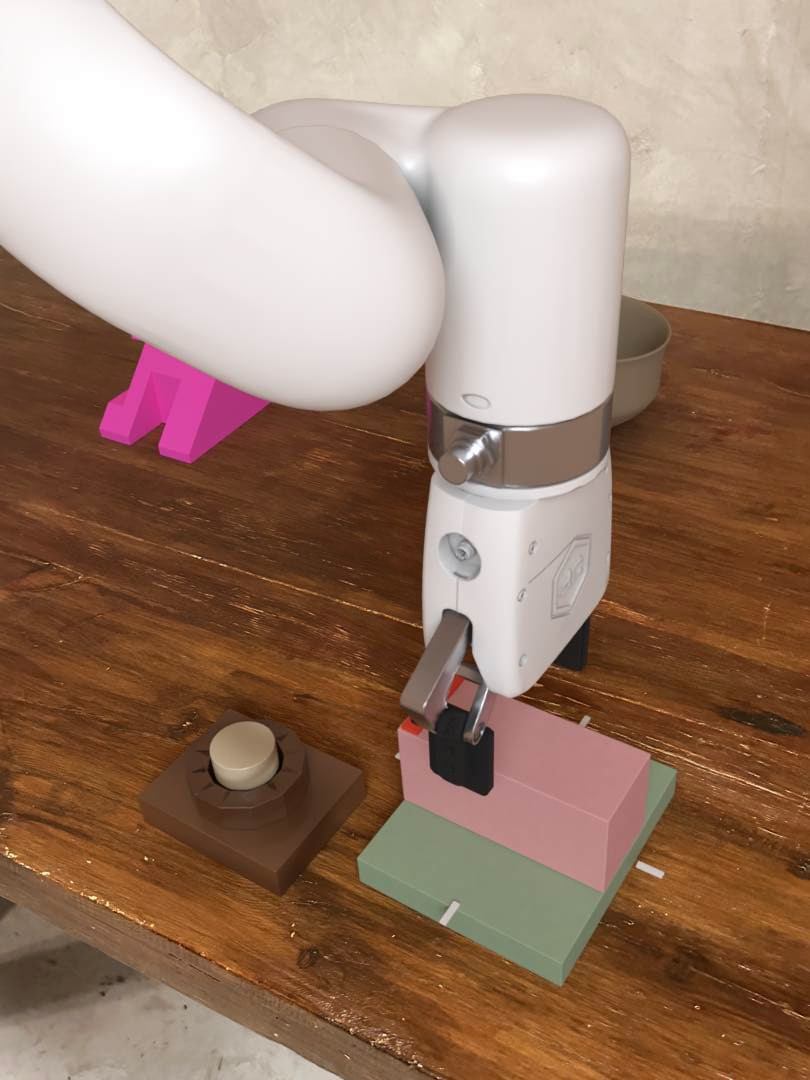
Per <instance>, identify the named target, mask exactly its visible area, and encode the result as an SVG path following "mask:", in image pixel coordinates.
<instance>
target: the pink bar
mask: <svg viewBox="0 0 810 1080" xmlns="http://www.w3.org/2000/svg"><path fill="white" fill-rule="evenodd" d="M478 686H479V685H478V684H476V683H474V682H471V681H469V680H466V679H464V678H461V677H459V676H457V675H455V677H454V680H453V683H452V686H451V689H450V692H449V695H448V698H447V701H446V702H447V703H450V704H452V705H455V706H457V707H459V708H462V709H464V710H466V711H469V712H470V709H471V706H472V703H473V700H474V697H475V694H476V691H477V688H478ZM487 727H489V728H491V729H492V730H493V731H494V787H493V788H492V790H491V791H490V792H489V794H488V795H487V796H482V795H479V794H477V793H475V792H473V791H471V790H469V789H467V788H464V787H462V786H456V785H454V784H451V783H449V782H447V781H445V780H444V779H443V778H441V777H440V776H439V775H437V774H435V773H434V772H433V771H432V770H431V768H430V761H429V736H428V730H426V729H424V728H421V727H419V726H417V725H415V724H413V723H411V718H410V717H409V716H407V717H406V719H405V720H404V721H403V722H402V723H401V724H400V725H399V727H398V728H397V740H398V741H397V742H398V751H399V753H400V760H399V762H400V763H399V764H400V774H401V783H402V784H401V785H402V792H403V793H402V794H403V799H405V800H407V801H409V802H411V803H413V804H415V805H418V806H420V807H422V808H424V809H426V810H428V811H430V812H432V813H435V814H437V815H439V816H441V817H443V818H445V819H447V820H449V821H451V822H454V823H456V824H458V825H460V826H462V827H464V828H466V829H468V830H471V831H473V832H475V833H477V834H479V835H481V836H483V837H485V838H488V839H490V840H492V841H494V842H496V843H498V844H500V845H502V846H504V847H507V848H509V849H511V850H513V851H515V852H517V853H519V854H521V855H524V856H526V857H528V858H530V859H532V860H534V861H536V862H538V863H541V864H543V865H545V866H547V867H549V868H551V869H553V870H555V871H557V872H560V873H562V874H564V875H566V876H568V877H570V878H572V879H574V880H577V881H579V882H581V883H583V884H585V885H587V886H589V887H591V888H594V889H596V890H598V891H600V892H602V893H604V892H605V890H606V888H607V887H608V885H609V883H610V881H611V880H612V878H613V876H614V875H615V873H616V871H617V870H618V868H619V866H620V865H621V863H622V861H623V859H624V858H625V856H626V854H627V853H628V851H629V849H630V848H631V846H632V844H633V843H634V841H635V839H636V837H637V836H638V834H639V832H640V831H641V829H642V827H643V826H644V819H645V809H646V799H647V789H648V779H649V768H650V759H651V757H652V753H650V752H648V751H645V750H643V749H640V748H637V747H635V746H633V745H630V744H629V743H626V742H624V741H620V740H618V739H615V738H613V737H610V736H608V735H605V734H603V733H600V732H597V731H595V730H592V729H590V728H588V727H586V726H585V727H583V726H580V725H579V723H576V722H573V721H570V720H568V719H565V718H563V717H560V716H559V715H558V716H557V715H555V714H553V713H550V712H547V711H545V710H542V709H541V708H538V707H536V706H532V705H530V704H528V703H525V702H522V701H520V700H518V699H515V698H506V697H504V696H502V695H499V694H497V697H496V700H495V702H494V705H493V708H492V711H491V714H490V717H489V720H488V723H487Z"/></svg>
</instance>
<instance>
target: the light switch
mask: <svg viewBox="0 0 810 1080" xmlns="http://www.w3.org/2000/svg"><path fill="white" fill-rule="evenodd" d="M243 721H252V722H258V723H261V724H263V725H265V726H267V727H268V728H269V729H270V730H271V731H272V733H273V734H274V737H275V741H276V747H277V752H278V757H279V766H278V769H277V771H276V773H275V775H274V776H273V777H272V779H270V780H269V781H268V782H267V783H266V784H264V785H262V786H260V787H258V788H255V789H252V790H247V791H236V790H231V789H228V788H226V787H224V786H223V785H222V784H220V783H219V781H218V780H217V779H216V777H215V773H214V769H213V765H212V761H211V757H210V744H211V742H212V740H213V738H214V737H215V735H216V734H217V733H218V732H219V731H220V730H222V729H223V728H225V727H227V726H229V725H231V724H234V723H237V722H243ZM366 797H367V788H366V781H365V774H364V770H362V769H360V768H358V767H356V766H354V765H353V764H349V763H348V762H345V761H344V760H341V759H339V758H337V757H335V756H332V755H331V754H328V753H327V752H324V751H322V750H320V749H317V748H316V747H313V746H311V745H310V744H307V743H305V742H302V741H301V739H300V737H299V736H298V734H297V732H296V730H293V729H291V728H290V727H288V726H285V725H283V724H281V723H279V722H276V721H274V720H272V719H269V718H268V719H266V718H265V719H264V718H263V719H262V718H261V719H259V718H256V719H253V718H251V717H250V716H248V715H245V714H243V713H241V712H239V711H237V710H235V709H232V708H228V709H226V711H224V712H223V713H222V715H220V716H219V717H218V718H217V719H216V720H215V721H214V722H213V723H212V724H211V725H210V726H209V727H207V729H205V730H204V731H203V733H201V734H200V735H199V736H198V737H197V739H195V740H194V741H193V742H192V743H191V744H189V746H188V747H186V749H185V750H184V751H183V752H181V754H179V756H177V757H176V758H175V759H174V760H173V762H171V763H170V764H169V765H168V766H167V767H166V768H165V769H164V770H163V771H162V772H160V774H158V776H156V777H155V778H154V779H153V780H152V781H151V782H150V783H149V784H148V785H147V786H146V787H145V788H144V789H143V790H142V791H141V792H140V793H138V795H137V796H136V798H137V802H138V804H139V807H140V808H139V809H140V811H141V815H142V817H143V821H144V823H146V824H149V825H150V826H152V827H154V828H156V829H157V830H159V831H161V832H162V833H164V834H166V835H168V836H170V837H172V838H173V839H175V840H176V841H178V842H181V843H182V844H184V845H186V846H188V847H190V848H191V849H193V850H195V851H197V852H198V853H199V854H202V855H204V856H205V857H207V858H209V859H211V860H213V861H214V862H217V863H218V864H220V865H222V866H223V867H225V868H227V869H229V870H230V871H232V872H234V873H236V874H238V875H240V876H241V877H243V878H245V879H247V880H249V881H250V882H252V883H253V884H256V885H258V886H259V887H261V888H263V889H265V890H266V891H268V892H270V893H272V894H274V895H275V896H277V897H279V898H282V897H283V896H284V895H285V894H286V892H287V891H288V890H289V889H290V887H291V886H292V885H293V884H294V883H295V881H296V880H298V878H299V877H300V876H301V875H302V873H303V872H304V871H305V869H307V868H308V866H309V865H310V864H311V863H312V861H313V860H314V859H315V858H316V857H317V856H318V854H319V853H320V852H321V851H322V849H323V848H324V847H325V846H326V845H327V844H328V843H329V841H330V840H331V839H332V838H333V837H334V835H335V834H336V833H337V832H338V831H339V829H341V827H342V826H343V825H344V824H345V822H346V821H347V820H348V819H349V818H350V817H351V816H352V815H353V813H354V812H355V811H356V810H357V808H358V807H359V806H360V805H361V804H362V802H363V801H365V799H366Z"/></svg>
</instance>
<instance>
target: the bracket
mask: <svg viewBox="0 0 810 1080" xmlns="http://www.w3.org/2000/svg"><path fill="white" fill-rule="evenodd" d="M130 338H131V340H132V339H133V340H137V341H141V342H143V341H142V340H140V339H138V338H136V337H135V336H133V335H131V337H130ZM138 359H139V360H138V362H137V365H136V368H135V371H134V374H133V376H132V379H131V382H130V385H129V388H128V389H127V390H125V391H124V392H122V393H121V394H119V395H117V396H116V397H115V398H113V399H111V400H110V401H108V402H107V405H106V408H105V410H104V414H103V416H102V419H101V422H100V425H99V427H98V429H99V433H100V437H101V438H104V439H108V440H110V441H114V442H117V443H120V444H123V445H128V446H132V445H133V444H135V443H136V442H138V441H139V440H140V439H141V438H143V437H145V436H146V435H147V434H149V433H150V432H152V431H153V430H154V429H156V428H157V427H159V426H160V425H161V424H162V423H163V424H164V427H163V431H162V433H161V436H160V439H159V441H158V445H157V448H158V452H159V455H161V456H164V457H168V458H170V459H174V460H177V461H180V462H183V463H187V464H190V465H191V464H193V463H194V462H195V461H196V460H198V459H199V458H201V457H202V456H203V455H204V454H206V453H207V452H208V451H210V450H211V449H212V448H213V447H215V446H216V445H218V443H220V442H221V441H223V440H224V439H225V438H226V437H228V436H229V435H231V434H232V433H234V432H235V431H236V430H237V429H238V428H240V427H241V426H242V425H244V424H245V423H246V422H248V421H249V420H250V419H252V417H254V416H255V415H257V414H258V413H259V412H260V411H263V409H264V408H265V407H267V406H268V405H270V404H271V403H272V402H270V401H266V400H263V399H260V398H258V397H255V396H253V395H250V394H248V393H245V392H243V391H240V390H238V389H236V388H234V387H232V386H229V385H227V384H225V383H223V382H221V381H219V380H217V379H215V378H213V377H211V376H209V375H207V374H205V373H203V372H201V371H199V370H197V369H195V368H193V367H191V366H189V365H187V364H185V363H184V362H182V361H180V360H178V359H176V358H174V357H172V356H170V355H168V354H166V353H164V352H162V351H160V350H159V349H157V348H155V347H153V346H151V345H149V344H147V343H145V342H144V345H143V348H142V351H141V354H140V357H139V358H138Z"/></svg>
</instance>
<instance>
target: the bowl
mask: <svg viewBox="0 0 810 1080" xmlns="http://www.w3.org/2000/svg"><path fill="white" fill-rule="evenodd" d="M672 333H673V331H672V326H671V324H670V322H669V320H668V319H667V317H666V316H665V315H664V314H663V313H662V312H660V311H659V310H658V309H656V308H655V307H653V306H652V305H650V304H648V303H646V302H644V301H641V300H639V299H636V298H634V297H631V296H627V295H624V294H622V295H621V307H620V320H619V333H618V345H617V358H616V371H615V382H614V395H613V408H612V420H611V429H612V428H615V427H617V426H619V425H622V424H625V423H627V422H629V421H630V420H633V419H635V417H637V416H638V415H639V414H641V413H642V412H643V411H644V410H645V409H646V408H647V407H648V406H650V405H651V403H652V402H653V401H654V400H655V398H656V396H657V394H658V392H659V389H660V385H661V381H662V373H663V365H664V360H665V354H666V350H667V346H668V345H669V342H670V340H671V338H672Z"/></svg>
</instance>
